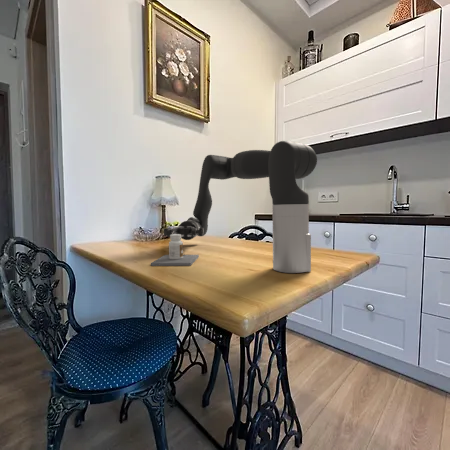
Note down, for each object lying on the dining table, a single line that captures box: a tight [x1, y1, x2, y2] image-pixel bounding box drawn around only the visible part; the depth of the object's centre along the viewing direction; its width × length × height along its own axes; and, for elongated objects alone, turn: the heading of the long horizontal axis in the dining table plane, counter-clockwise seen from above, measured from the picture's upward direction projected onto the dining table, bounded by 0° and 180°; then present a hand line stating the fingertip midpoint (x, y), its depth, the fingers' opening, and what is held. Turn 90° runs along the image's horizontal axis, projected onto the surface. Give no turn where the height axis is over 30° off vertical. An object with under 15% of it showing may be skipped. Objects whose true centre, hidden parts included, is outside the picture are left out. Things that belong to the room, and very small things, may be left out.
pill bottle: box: [168, 233, 184, 260], centre depth 83 cm, size 4×4×8 cm
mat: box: [150, 254, 200, 267], centre depth 83 cm, size 12×14×1 cm
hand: (179, 233), depth 88 cm, fingers open, 8 cm apart
